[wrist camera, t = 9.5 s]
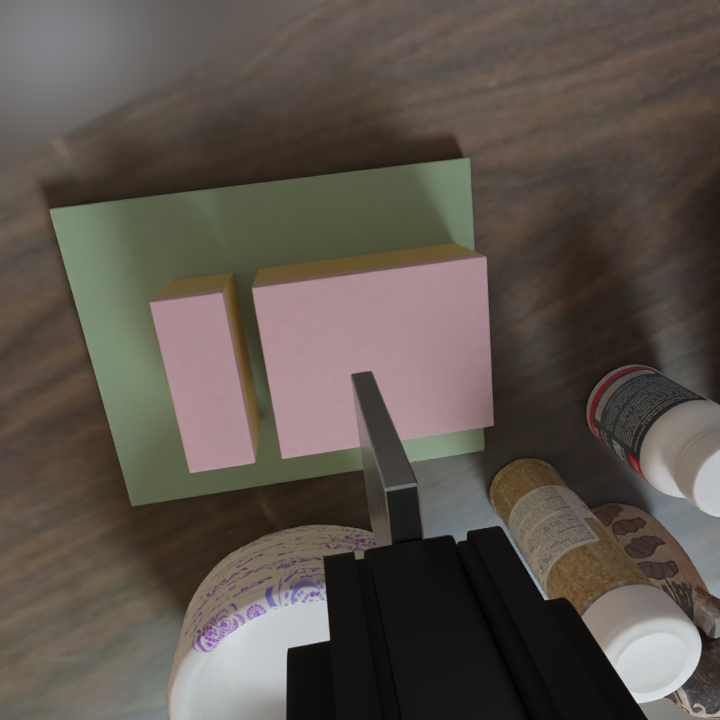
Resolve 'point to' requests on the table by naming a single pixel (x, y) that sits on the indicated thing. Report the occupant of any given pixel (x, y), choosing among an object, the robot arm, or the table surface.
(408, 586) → the knife
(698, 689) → the ceramic jug
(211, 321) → the slice
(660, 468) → the pill bottle
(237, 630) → the paper bowls
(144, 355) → the cake board
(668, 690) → the sprinkles bottle
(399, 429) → the cake
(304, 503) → the table surface
